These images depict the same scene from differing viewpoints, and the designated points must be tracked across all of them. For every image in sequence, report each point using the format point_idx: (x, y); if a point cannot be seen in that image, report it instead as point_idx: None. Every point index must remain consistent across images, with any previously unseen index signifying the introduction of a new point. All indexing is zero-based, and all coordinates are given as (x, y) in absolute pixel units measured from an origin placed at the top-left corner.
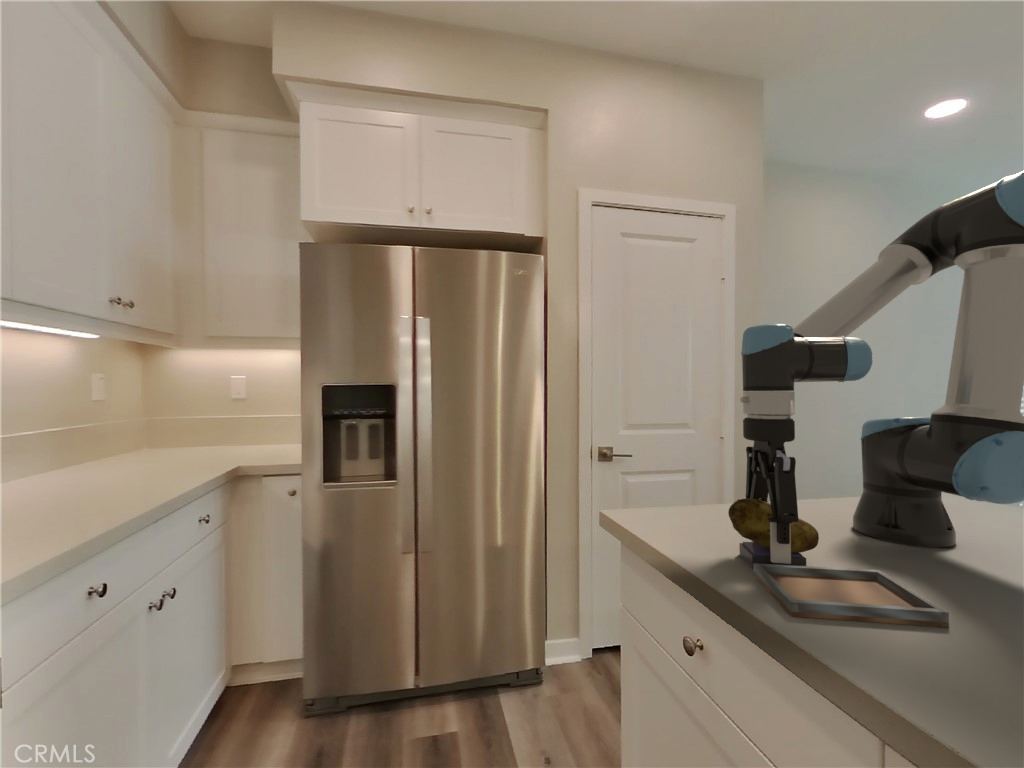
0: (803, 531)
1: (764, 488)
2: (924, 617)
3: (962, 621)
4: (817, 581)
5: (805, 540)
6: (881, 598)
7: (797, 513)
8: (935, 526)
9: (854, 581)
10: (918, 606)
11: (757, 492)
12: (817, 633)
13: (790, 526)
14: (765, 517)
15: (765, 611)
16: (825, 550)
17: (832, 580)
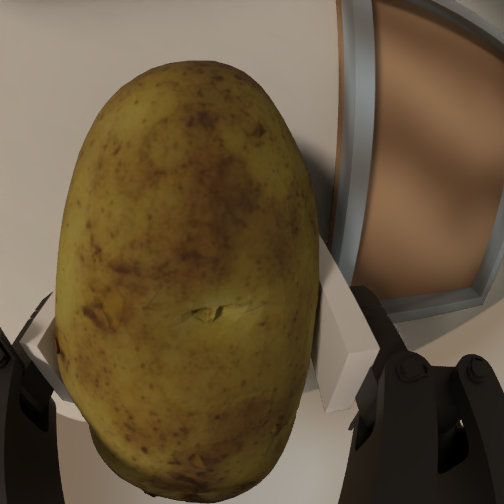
0: (297, 198)
1: (27, 490)
2: None
3: (487, 6)
4: (392, 176)
5: (311, 182)
6: (466, 79)
7: (500, 393)
8: None
9: (383, 58)
10: (485, 41)
11: (48, 472)
12: (500, 271)
13: (369, 327)
14: (285, 424)
15: (449, 318)
16: (53, 24)
17: (384, 123)
